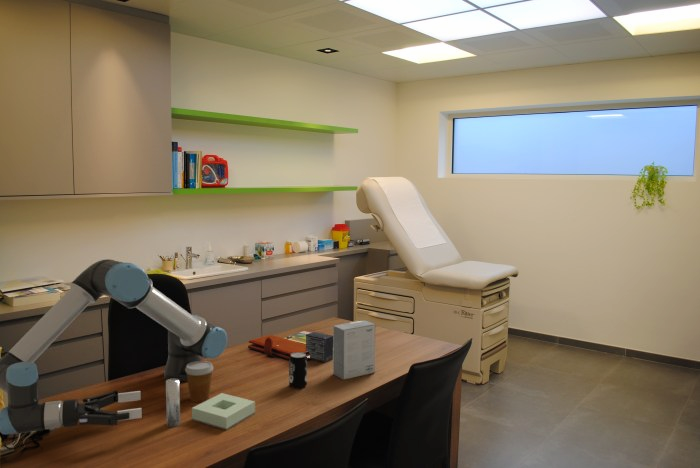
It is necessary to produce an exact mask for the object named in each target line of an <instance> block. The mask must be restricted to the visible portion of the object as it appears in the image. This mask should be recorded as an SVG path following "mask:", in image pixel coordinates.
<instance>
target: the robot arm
mask: <svg viewBox="0 0 700 468" xmlns="http://www.w3.org/2000/svg"><path fill="white" fill-rule="evenodd" d="M69 285H70V286H69V289H68V290H67V291H66V292H65V293H64V295H62V296H61V297H60V298H59V299H58V300H57V302H56V303H55V304H54V305H53V306H51V307H50V309H49V310H48V311H47V312H45V314H44V315H43V316H42V317H41V318H40V319H39V320H38V321H37V322H36V323H35V324H34V325H33V326H32V327H31V328H30V329H29V330H28V331H27V332H26V333H25V334H24V335H23V336H22V337H21V338H20V339H19V340H18V342H16V343H15V345H14V346H13V347H12V348H11V349H10V350H8V352H7V353H5V355H4V356H2V357H0V389H1V390H2V391H3V392H5V393H6V397H7V406H6V407H2V408H1V409H0V433H1V434H2V435H4V436H5V435H15V434H17V435H20V434H24V433H31V432H37V431H45V430H50V431H52V430H53V431H54V429H59V428H61V427H62V426H63V427H64V428H68V427H77V426H78V424H79V425H80V426H83V425H94V426H97V425H98V426H117V425H118V422H121V421H127V420H135V419H142V416H143V415H142V413H143V412H142V407H138V408H129V409H123V410H117V412H114V411H108V410H102V409H103V408H106V407H107V406H110V405H112V404H115V403H117V402H118V403H119V404H120V403H126V402H135V401H141V399H142V398H141V397H142V396H141V393H142V392H141V390H137V391H136V390H134V391H128V392H120V393H119V391H118V390H113V391H109V392H106V393H101V394H99V395H95V396H91V397H86V398H83V399H82V403H79V401H78V398H71V399H65V400H63V401H62V400H54V401H46V402H39V372H38V367H37V364H36V363H35V361H37V359H38V358H40V357H41V355H42V354H43V353H44V352H45V351H46V350H47V349H48V348H49V347H50V346H51V344H53V342H55V341H56V339H57V338H58V337H59V336H60V335H61V334H63V332H64V331H65V330H66V329H68V327H69V326H70V325H71V324H72V323H73V322H74V320H75V319H76V318H77V317H78V316H79V315H81V313H82V312H83V311H84V310H85V309H86V308H87V307H88V306H89V305H90V304H95V303H96V302H97V301H98V300H99V299H100V298H102V297H103V296H106V297H108V298H109V297H110V298H111V299H113V300H114V301H117V302H118V303H119V304H121V305H123V306H124V307H126V308H127V309H134V308H136V309H137V310H139V312H142V313H143V314H145V315H146V316H147V317H149V318H150V319H152V320H153V321H155V322H156V323H158V324H159V325H161V326H162V327H164V328H165V329H166V330H167V344H168V346H167V349H168V351H167V352H168V354H167V355H168V357H167V361H166V363H165V367H164V369H163V377H164V379H165V380H168V379H172V378H177V379H179V382H181V383H182V382H188V379H187V373H186V371H185V368H186V366H187V364H189V363H191V362H195V361H203V359H202V357H203V358H204V359H207V360H208V359H209V360H214V359H216V358H218V357H220V356H221V355H222V354H223V353H224V351H225V349H226V348H227V345H228V334H227V332H226V330H225V329H224V328H221V327H220V326H216V325H213V324H212V323H211V322H209V321H208V320H207V319H205V318H203V316H199V315H197V314H191V313H189V312H188V311H187V310H185V308H183V307H182V306H180V305H179V304H177V303H176V302H175V301H173V300H172V299H171V298H170V297H167V296H166V295H165V294H164V293H163V292H161V291H160V290H158V289H157V288H155V287H154V286H153V280H152V279H151V278H150V277H149V276H148V274H147V272H146V271H145V270H144V269H143V268H142V267H140V266H139V265H137V264H135V263H131V262H124V261H118V260H114V259H109V258H108V259H107V258H106V259H101V260H98V261H96V262H94V263H92V264H91V265H89V266H87V268H86V269H84V270H83V271H81V273H80V274H79V275H78V276H76V278H74V279H73V281H72V282H71V283H70V284H69Z"/></svg>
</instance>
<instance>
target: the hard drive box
mask: <svg viewBox="0 0 700 468" xmlns="http://www.w3.org/2000/svg"><path fill="white" fill-rule="evenodd" d="M332 327H333V328H332V332H333V334H332V335H333V359H332V360H333V361H332V363H333V365H332V366H333V368H332V369H333V375H335V377H337V378H339V379H341V380H343V381H344V380H349V379H353V378H357V377H360V376H367V375H370V374H375V373H376V324H375V323H373V322H370V321H368V320H365V319H363V320H359V321H351V322H348V323H347V322H346V323H341V324H336V325H333V326H332Z"/></svg>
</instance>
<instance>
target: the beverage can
mask: <svg viewBox="0 0 700 468" xmlns="http://www.w3.org/2000/svg"><path fill="white" fill-rule="evenodd" d="M289 356H290V357H289V360H288V362H289V363H288V372H289V373H288V378H289V379H288V382H289V383H288V385H289V386H290V387H291V388H292V389H296V390H297V389H304V388H305V387H306V386H307V385H308V359H307V357H306V352H302V351H297V352H296V351H295V352H292V353H290V355H289Z"/></svg>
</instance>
